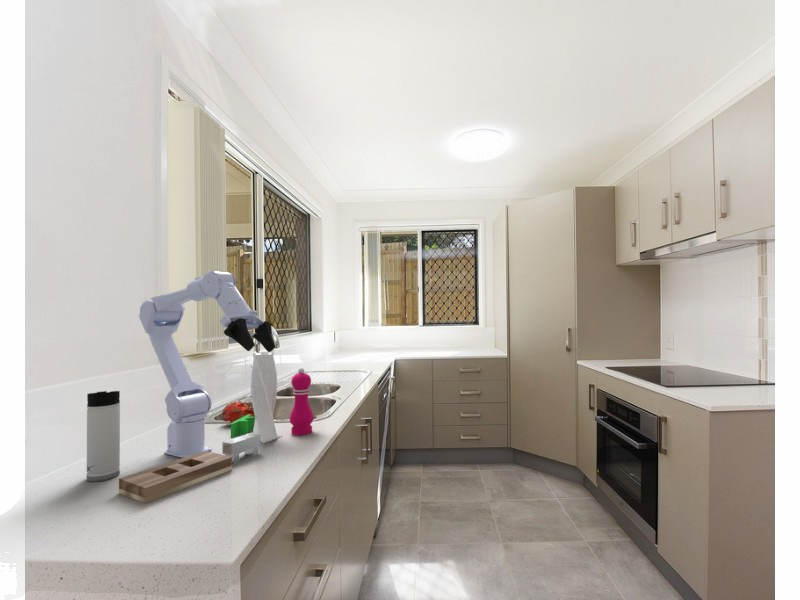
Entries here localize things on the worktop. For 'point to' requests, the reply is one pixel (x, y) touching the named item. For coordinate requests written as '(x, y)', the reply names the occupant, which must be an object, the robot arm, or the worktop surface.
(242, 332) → the robot arm
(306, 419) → the pepper mill
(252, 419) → the green bumpy bar
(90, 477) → the travel mug
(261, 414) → the skyscraper
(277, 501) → the worktop surface
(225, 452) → the grey block
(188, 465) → the wooden slotted board
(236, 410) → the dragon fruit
